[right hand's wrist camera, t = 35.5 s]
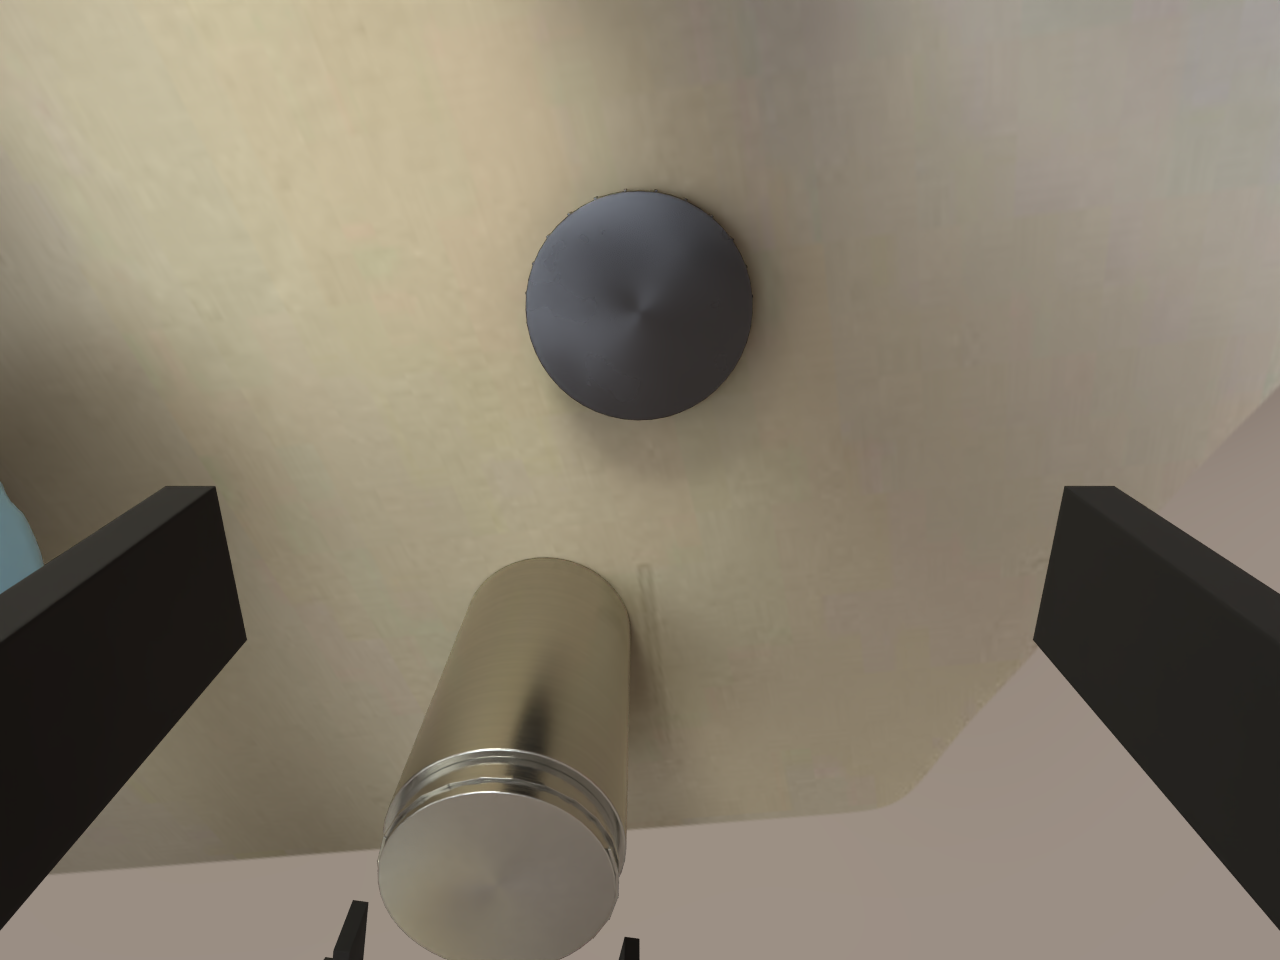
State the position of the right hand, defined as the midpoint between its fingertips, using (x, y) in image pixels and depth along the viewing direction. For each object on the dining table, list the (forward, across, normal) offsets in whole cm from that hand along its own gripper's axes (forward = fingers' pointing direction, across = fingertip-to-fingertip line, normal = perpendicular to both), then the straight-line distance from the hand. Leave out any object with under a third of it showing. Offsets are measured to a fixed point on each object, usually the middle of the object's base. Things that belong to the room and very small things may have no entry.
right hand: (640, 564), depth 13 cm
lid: (+26, 0, 0) cm, 26 cm away
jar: (+28, -5, -19) cm, 34 cm away
